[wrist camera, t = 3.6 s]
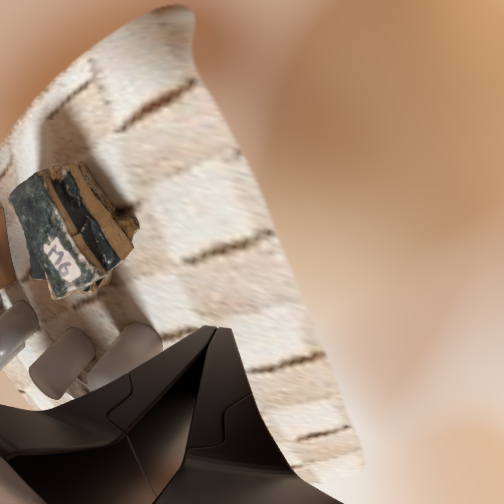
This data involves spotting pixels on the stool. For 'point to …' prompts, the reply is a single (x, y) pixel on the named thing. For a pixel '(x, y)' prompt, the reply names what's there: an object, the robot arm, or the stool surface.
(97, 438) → the robot arm
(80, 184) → the rock
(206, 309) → the stool surface
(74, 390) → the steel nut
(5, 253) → the bar
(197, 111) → the stool surface
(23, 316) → the spacers
